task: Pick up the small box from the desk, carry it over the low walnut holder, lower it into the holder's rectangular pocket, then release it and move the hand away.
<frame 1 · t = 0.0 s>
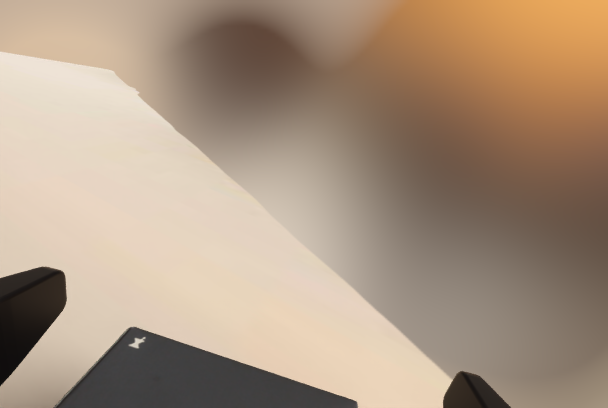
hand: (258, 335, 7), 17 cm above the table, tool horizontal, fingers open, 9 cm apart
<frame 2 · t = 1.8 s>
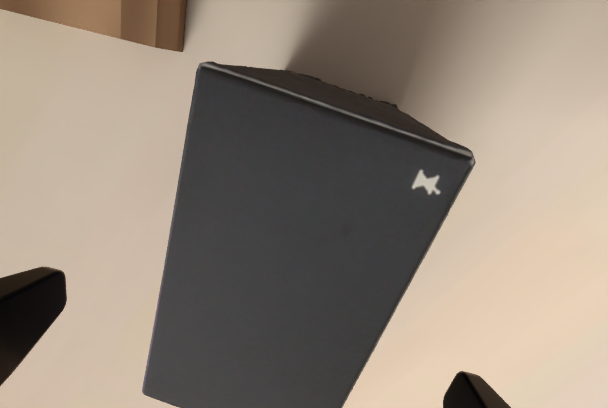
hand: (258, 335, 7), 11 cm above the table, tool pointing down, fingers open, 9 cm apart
small box: (307, 180, 18), on the table
when the fingers open (7 cm above the table, at t = 8.9 s): small box stays where it is, resting on walnut holder.
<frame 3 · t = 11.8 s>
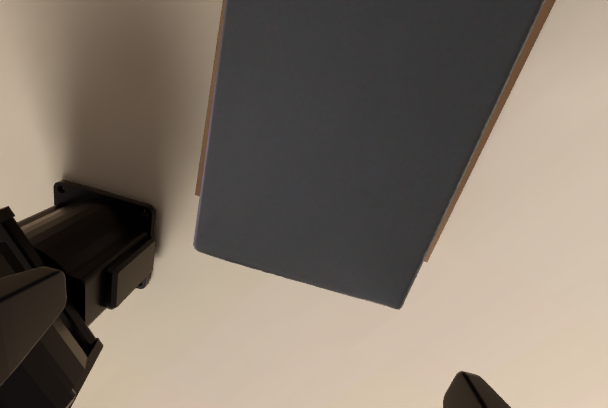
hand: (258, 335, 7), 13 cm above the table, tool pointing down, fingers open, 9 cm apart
small box: (346, 79, 17), resting on walnut holder
walnut holder: (356, 73, 17), on the table
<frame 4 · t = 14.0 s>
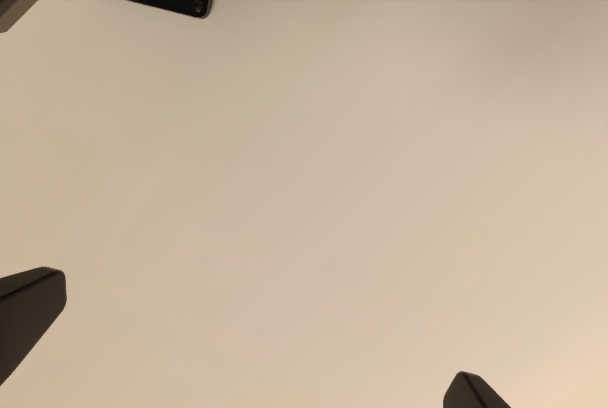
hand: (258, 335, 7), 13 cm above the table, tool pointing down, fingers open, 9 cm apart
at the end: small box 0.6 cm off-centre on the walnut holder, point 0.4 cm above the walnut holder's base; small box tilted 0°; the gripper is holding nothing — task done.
